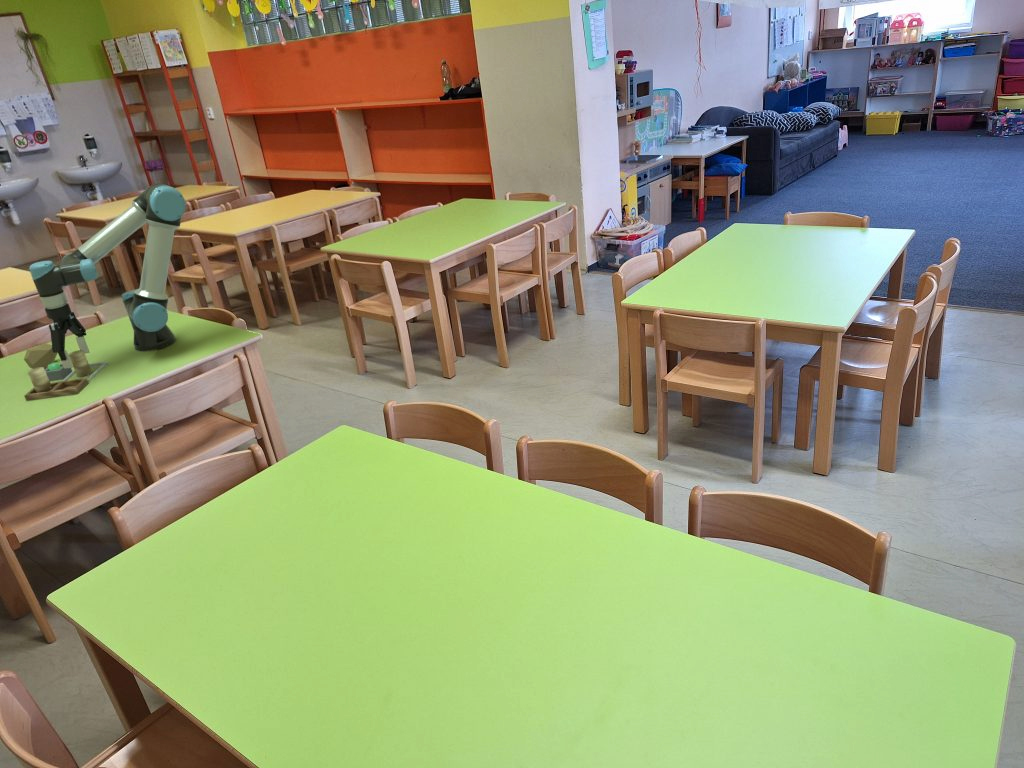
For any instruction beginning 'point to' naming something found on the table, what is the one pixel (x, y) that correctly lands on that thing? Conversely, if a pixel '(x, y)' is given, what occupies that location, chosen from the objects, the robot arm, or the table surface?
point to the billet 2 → (80, 363)
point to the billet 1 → (40, 380)
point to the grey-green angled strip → (101, 364)
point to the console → (58, 373)
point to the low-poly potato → (40, 356)
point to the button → (54, 366)
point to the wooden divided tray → (59, 389)
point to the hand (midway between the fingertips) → (77, 360)
